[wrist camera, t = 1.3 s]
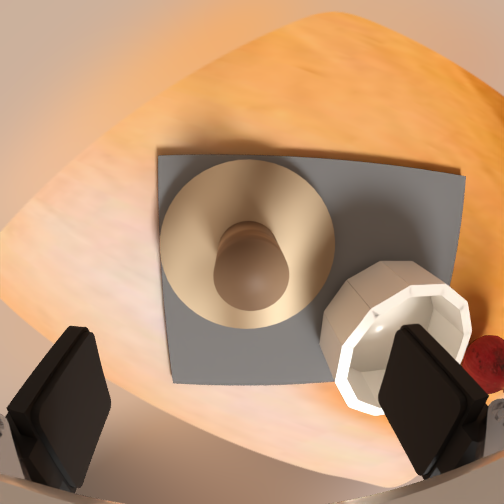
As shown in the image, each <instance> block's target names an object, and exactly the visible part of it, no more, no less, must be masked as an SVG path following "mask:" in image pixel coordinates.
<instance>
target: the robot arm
mask: <svg viewBox="0 0 504 504" xmlns="http://www.w3.org/2000/svg"><path fill="white" fill-rule="evenodd" d="M488 397H489V395H488V394H487V393H486V392H485V391H484V390H483V389H482V387H481V386H480V385H479V384H478V383H477V382H476V381H475V380H474V379H473V378H472V377H471V376H470V375H469V374H468V373H467V371H466V370H465V369H464V368H463V367H462V366H461V365H460V364H459V363H458V362H457V361H456V360H455V359H454V358H453V357H452V356H451V355H450V354H449V353H448V352H447V351H446V350H445V349H444V348H443V347H442V346H441V345H440V344H439V343H438V342H437V341H436V340H435V339H434V338H433V337H432V336H431V335H430V334H429V333H428V332H427V331H426V330H425V329H424V328H423V327H422V326H421V325H420V324H407V325H402V326H401V328H400V330H397V331H396V333H395V337H394V341H393V345H392V348H391V352H390V356H389V360H388V363H387V367H386V370H385V374H384V377H383V380H382V384H381V387H380V390H379V393H378V402H379V404H380V406H381V408H382V410H383V412H384V414H385V415H386V417H387V419H388V421H389V423H390V424H391V426H392V428H393V430H394V432H395V434H396V435H397V437H398V439H399V441H400V443H401V445H402V447H403V448H404V450H405V452H406V454H407V456H408V458H409V460H410V462H411V463H412V465H413V467H414V469H415V471H416V473H417V474H418V475H420V476H421V475H422V477H423V479H424V480H423V481H420V482H417V483H414V484H411V485H408V486H404V487H401V488H397V489H394V490H390V491H386V492H382V493H378V494H375V495H370V496H366V497H361V498H357V499H352V500H347V501H341V502H337V503H331V504H504V399H496V400H494V401H492V402H491V404H490V405H489V406H487V405H486V401H487V399H488ZM110 408H111V399H110V395H109V392H108V388H107V384H106V381H105V377H104V373H103V370H102V366H101V362H100V358H99V354H98V349H97V345H96V341H95V336H94V334H93V333H92V332H89V330H88V328H86V327H78V326H69V327H68V328H67V329H66V330H65V332H64V333H63V334H62V335H61V336H60V338H59V339H58V340H57V341H56V343H55V344H54V345H53V346H52V348H51V349H50V350H49V352H48V353H47V354H46V355H45V357H44V358H43V359H42V361H41V362H40V363H39V365H38V366H37V367H36V368H35V370H34V371H33V372H32V374H31V375H30V376H29V378H28V379H27V380H26V382H25V383H24V385H23V386H22V387H21V389H20V390H19V391H18V393H17V394H16V395H15V397H14V398H13V400H12V401H11V403H10V404H9V405H8V407H7V410H8V414H7V415H6V417H4V416H3V415H2V414H0V504H123V503H118V502H112V501H107V500H102V499H97V498H92V497H88V496H83V495H79V494H75V491H76V488H80V487H81V486H82V484H83V482H84V479H85V476H86V473H87V470H88V467H89V464H90V462H91V459H92V456H93V453H94V451H95V448H96V445H97V442H98V440H99V437H100V434H101V432H102V429H103V427H104V424H105V421H106V419H107V416H108V414H109V411H110Z"/></svg>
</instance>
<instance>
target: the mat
mask: <svg viewBox="0 0 504 504" xmlns="http://www.w3.org/2000/svg"><path fill="white" fill-rule="evenodd" d="M248 159H250V160H261V161H266V162H271V163H275V164H277V165H280V166H283V167H285V168H287V169H289V170H291V171H293V172H295V173H296V174H298V175H299V176H300V177H302V178H303V179H304V180H306V181H307V182H308V183H309V184H310V185H311V186H312V187H313V188H314V189H315V190H316V192H317V193H318V194H319V196H320V197H321V198H322V200H323V202H324V204H325V205H326V207H327V209H328V212H329V214H330V217H331V220H332V224H333V228H334V235H335V253H334V259H333V264H332V267H331V270H330V273H329V275H328V278H327V280H326V282H325V284H324V285H323V287H322V289H321V290H320V292H319V293H318V294H317V295H316V297H315V298H314V299H313V300H312V301H311V302H310V303H309V304H308V305H307V306H306V307H305V308H304V309H302V310H301V311H300V312H298V313H297V314H295V315H294V316H292V317H290V318H289V319H287V320H284V321H282V322H280V323H277V324H274V325H271V326H267V327H261V328H253V329H240V328H232V327H226V326H223V325H219V324H216V323H213V322H211V321H209V320H207V319H205V318H203V317H201V316H200V315H198V314H196V313H195V312H194V311H192V310H191V309H190V308H189V307H187V306H186V305H185V304H184V303H183V302H182V301H181V300H180V298H179V297H178V296H177V294H176V293H175V292H174V290H173V289H172V287H171V285H170V284H169V282H168V280H167V277H166V275H165V272H164V269H163V266H162V262H161V269H162V283H163V296H164V308H165V318H166V328H167V338H168V347H169V355H170V363H171V371H172V378H173V383H177V384H198V385H286V384H306V383H321V382H334V378H333V376H332V374H331V371H330V369H329V366H328V364H327V362H326V359H325V357H324V354H323V352H322V350H321V347H320V345H319V343H320V336H321V329H322V321H323V314H324V311H325V309H326V308H327V306H328V305H329V304H330V302H331V301H332V300H333V298H334V297H335V295H336V294H337V292H338V291H339V290H340V288H341V287H342V285H343V284H344V283H345V281H346V280H347V279H349V278H351V277H352V276H354V275H356V274H358V273H360V272H361V271H363V270H365V269H367V268H368V267H370V266H372V265H374V264H375V263H377V262H379V261H413V262H415V263H416V264H418V265H419V266H421V267H422V268H424V269H425V270H427V271H428V272H430V273H431V274H433V275H434V276H436V277H437V278H439V279H440V280H441V281H443V282H444V283H446V284H447V285H448V286H449V287H450V282H451V277H452V273H453V268H454V262H455V257H456V252H457V246H458V240H459V233H460V226H461V219H462V211H463V202H464V192H465V180H466V176H461V175H455V174H449V173H443V172H437V171H430V170H424V169H417V168H409V167H402V166H394V165H386V164H377V163H368V162H358V161H347V160H335V159H322V158H307V157H290V156H266V155H162V156H158V201H159V232H160V235H161V228H162V224H163V221H164V217H165V215H166V213H167V210H168V208H169V206H170V204H171V203H172V201H173V200H174V198H175V196H176V195H177V194H178V193H179V191H180V190H181V189H182V188H183V187H184V186H185V185H186V184H187V183H188V182H189V181H190V180H192V179H193V178H194V177H196V176H197V175H199V174H200V173H202V172H203V171H205V170H207V169H209V168H211V167H213V166H216V165H219V164H222V163H225V162H229V161H235V160H248Z"/></svg>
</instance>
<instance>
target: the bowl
mask: <svg viewBox="0 0 504 504" xmlns="http://www.w3.org/2000/svg"><path fill="white" fill-rule="evenodd" d="M407 324H420V325H421V326H422V327H423V328H424V329H425V330H426V331H427V332H428V333H429V334H430V335H431V336H432V337H433V338H434V339H435V340H436V341H437V342H438V343H439V344H440V345H441V346H442V347H443V348H444V349H445V350H446V351H447V352H448V353H449V354H450V355H451V356H452V357H453V358H454V359H455V360H456V361H457V362H458V363H459V364H461V362H462V359H463V356H464V353H465V351H466V348H467V345H468V342H469V339H470V336H471V333H472V327H471V320H470V313H469V307H468V302H467V301H466V300H465V299H464V298H462V297H461V296H460V295H459V294H458V293H457V292H455V291H454V290H453V289H452V288H451V287H449V286H448V285H447V284H446V283H444V282H443V281H441V280H440V279H439V278H437V277H436V276H434V275H433V274H431V273H430V272H428V271H427V270H425V269H424V268H422V267H421V266H419V265H418V264H416V263H415V262H413V261H379V262H377V263H375V264H374V265H372V266H370V267H368V268H367V269H365V270H363V271H361V272H360V273H358V274H356V275H354V276H352V277H351V278H349V279H347V280H346V281H345V283H344V284H343V285H342V287H341V288H340V290H339V291H338V292H337V294H336V295H335V297H334V298H333V300H332V301H331V302H330V304H329V305H328V306H327V308H326V309H325V311H324V314H323V321H322V329H321V336H320V343H319V345H320V347H321V350H322V352H323V354H324V357H325V359H326V362H327V364H328V366H329V369H330V371H331V374H332V376H333V378H334V381H335V383H336V385H337V387H338V389H339V390H340V392H341V394H342V396H343V398H344V400H345V401H346V403H347V405H348V406H349V407H351V408H354V409H356V410H359V411H362V412H365V413H368V414H371V415H374V416H377V415H383V414H384V412H383V410H382V408H381V406H380V404H379V402H378V393H379V390H380V387H381V384H382V380H383V377H384V374H385V370H386V367H387V363H388V360H389V356H390V352H391V348H392V345H393V341H394V337H395V333H396V331H397V330H400V328H401V326H402V325H407Z"/></svg>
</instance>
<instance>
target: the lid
mask: <svg viewBox="0 0 504 504" xmlns="http://www.w3.org/2000/svg"><path fill="white" fill-rule="evenodd" d="M334 253H335V235H334V228H333V224H332V220H331V217H330V214H329V212H328V209H327V207H326V205H325V204H324V202H323V200H322V198H321V197H320V196H319V194H318V193H317V192H316V190H315V189H314V188H313V187H312V186H311V185H310V184H309V183H308V182H307V181H306V180H304V179H303V178H302V177H300V176H299V175H298V174H296V173H295V172H293V171H291V170H289V169H287V168H285V167H283V166H280V165H277V164H275V163H271V162H266V161H261V160H250V159H248V160H235V161H229V162H225V163H222V164H219V165H216V166H213V167H211V168H209V169H207V170H205V171H203V172H202V173H200V174H199V175H197V176H196V177H194V178H193V179H192V180H190V181H189V182H188V183H187V184H186V185H185V186H184V187H183V188H182V189H181V190H180V191H179V193H178V194H177V195H176V196H175V198H174V200H173V201H172V203H171V204H170V206H169V208H168V210H167V213H166V215H165V217H164V221H163V224H162V228H161V235H160V255H161V262H162V266H163V269H164V272H165V275H166V277H167V280H168V282H169V284H170V285H171V287H172V289H173V290H174V292H175V293H176V294H177V296H178V297H179V298H180V300H181V301H182V302H183V303H184V304H185V305H186V306H187V307H189V308H190V309H191V310H192V311H194V312H195V313H196V314H198V315H200V316H201V317H203V318H205V319H207V320H209V321H211V322H213V323H216V324H219V325H223V326H226V327H232V328H240V329H253V328H261V327H267V326H271V325H274V324H277V323H280V322H282V321H284V320H287V319H289V318H290V317H292V316H294V315H295V314H297V313H298V312H300V311H301V310H302V309H304V308H305V307H306V306H307V305H308V304H309V303H310V302H311V301H312V300H313V299H314V298H315V297H316V295H317V294H318V293H319V292H320V290H321V289H322V287H323V285H324V284H325V282H326V280H327V278H328V275H329V273H330V270H331V267H332V264H333V259H334Z"/></svg>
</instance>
